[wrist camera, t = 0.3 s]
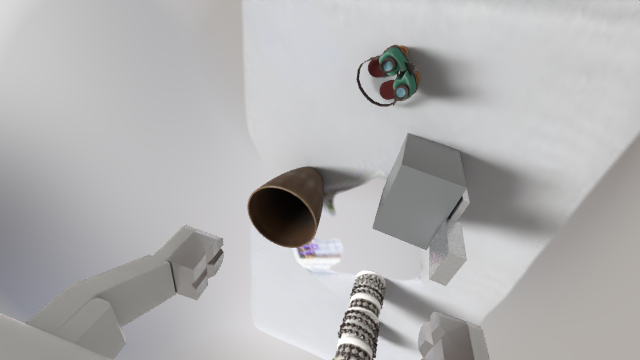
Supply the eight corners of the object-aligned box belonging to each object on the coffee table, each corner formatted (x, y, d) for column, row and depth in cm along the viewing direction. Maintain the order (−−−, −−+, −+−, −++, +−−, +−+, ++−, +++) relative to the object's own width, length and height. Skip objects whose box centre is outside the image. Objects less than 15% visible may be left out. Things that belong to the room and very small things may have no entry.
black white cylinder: (389, 295, 77) (374, 394, 57) (357, 290, 81) (332, 382, 60) (385, 271, 73) (368, 368, 53) (352, 268, 77) (323, 357, 56)
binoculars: (337, 79, 43) (394, 42, 37) (357, 66, 51) (407, 34, 45) (364, 127, 46) (422, 100, 40) (379, 108, 54) (430, 82, 48)
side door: (453, 163, 51) (463, 232, 35) (466, 167, 51) (482, 239, 34) (429, 203, 57) (429, 279, 40) (441, 207, 56) (445, 285, 40)
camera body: (407, 133, 53) (401, 164, 42) (459, 150, 52) (467, 188, 40) (380, 196, 62) (369, 235, 51) (423, 212, 61) (422, 257, 49)
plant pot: (327, 146, 61) (299, 181, 48) (347, 202, 66) (326, 247, 53) (273, 158, 67) (235, 191, 54) (295, 208, 73) (265, 249, 60)
